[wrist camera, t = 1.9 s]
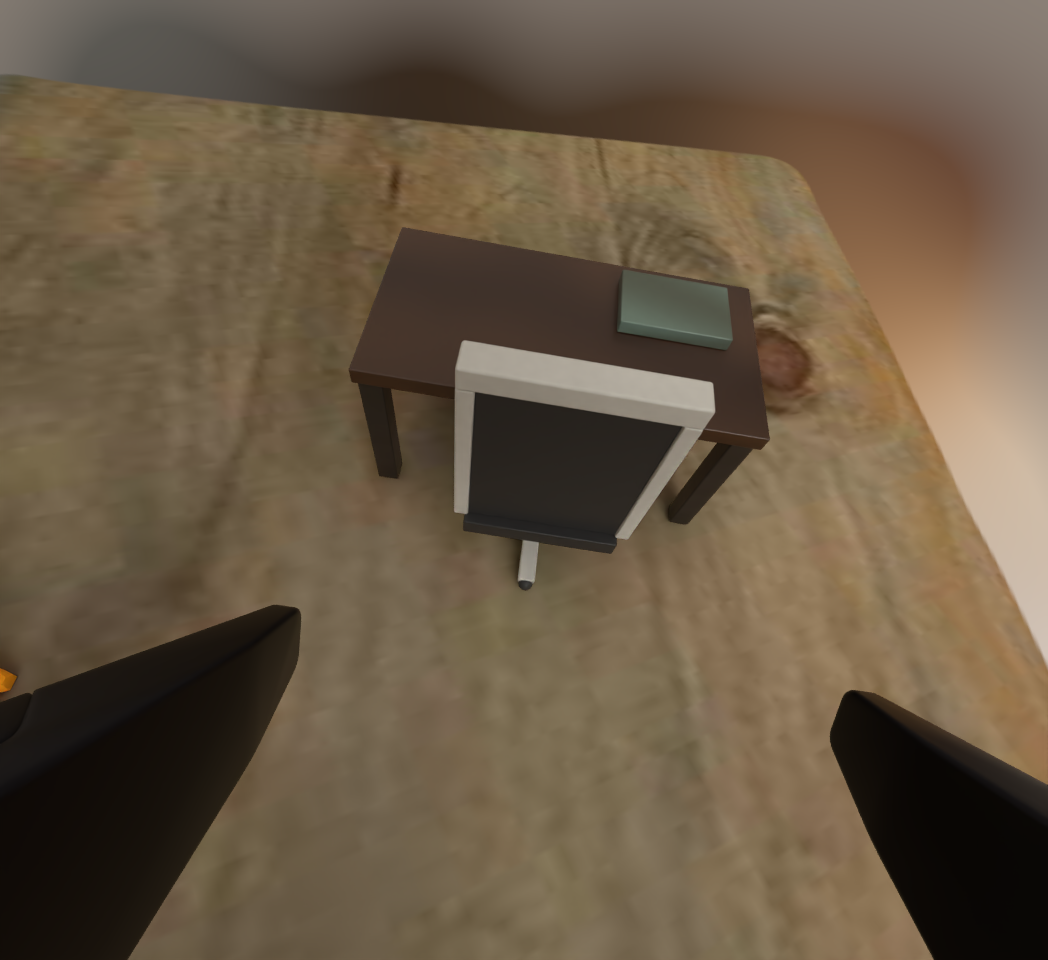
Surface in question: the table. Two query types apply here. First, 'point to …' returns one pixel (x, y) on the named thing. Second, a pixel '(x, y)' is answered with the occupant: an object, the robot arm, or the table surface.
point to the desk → (558, 336)
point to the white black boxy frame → (566, 446)
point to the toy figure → (6, 680)
